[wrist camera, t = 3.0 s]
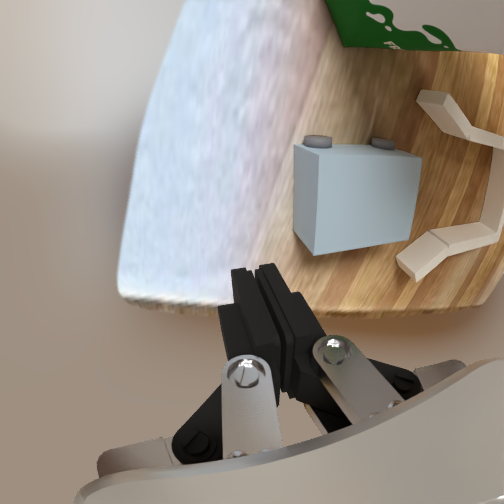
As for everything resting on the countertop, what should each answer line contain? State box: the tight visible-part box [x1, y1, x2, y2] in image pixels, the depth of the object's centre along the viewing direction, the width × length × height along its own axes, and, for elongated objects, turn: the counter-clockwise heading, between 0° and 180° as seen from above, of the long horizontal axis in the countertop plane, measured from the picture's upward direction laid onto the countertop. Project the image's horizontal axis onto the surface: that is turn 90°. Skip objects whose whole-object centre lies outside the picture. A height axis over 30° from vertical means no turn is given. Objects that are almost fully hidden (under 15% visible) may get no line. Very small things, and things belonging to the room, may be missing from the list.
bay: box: [395, 89, 504, 283], centre depth 23 cm, size 19×18×4 cm
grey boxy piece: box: [293, 135, 422, 256], centre depth 20 cm, size 8×9×4 cm
